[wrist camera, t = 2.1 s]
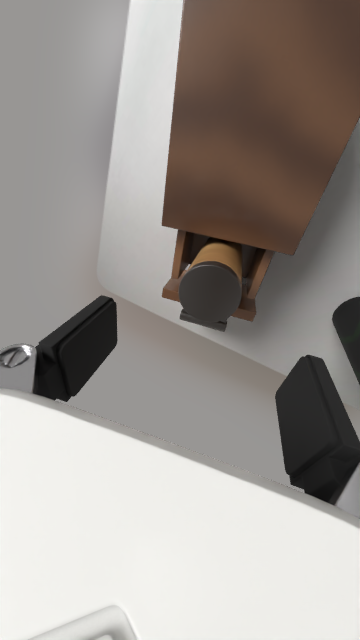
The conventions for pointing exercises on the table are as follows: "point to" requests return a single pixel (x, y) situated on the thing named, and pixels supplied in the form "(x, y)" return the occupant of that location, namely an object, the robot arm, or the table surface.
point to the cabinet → (260, 116)
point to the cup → (349, 331)
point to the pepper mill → (213, 281)
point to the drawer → (252, 270)
